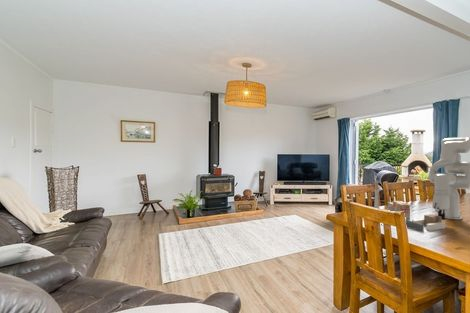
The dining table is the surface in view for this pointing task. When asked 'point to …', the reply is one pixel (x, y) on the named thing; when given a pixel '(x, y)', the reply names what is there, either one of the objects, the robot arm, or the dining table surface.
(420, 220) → the chute rail
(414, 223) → the bar
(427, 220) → the walnut block
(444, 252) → the dining table surface
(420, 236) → the dining table surface
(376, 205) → the candlestick
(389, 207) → the stack of blocks
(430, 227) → the chute rail
